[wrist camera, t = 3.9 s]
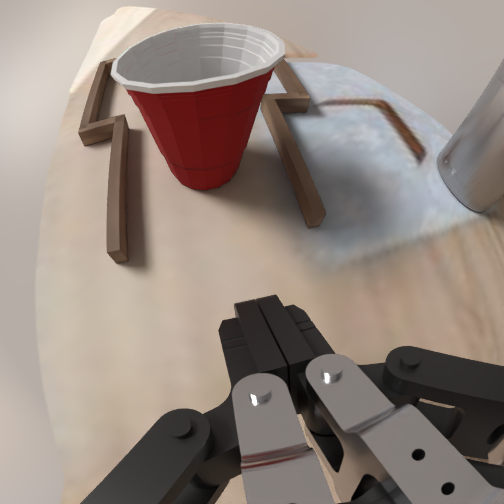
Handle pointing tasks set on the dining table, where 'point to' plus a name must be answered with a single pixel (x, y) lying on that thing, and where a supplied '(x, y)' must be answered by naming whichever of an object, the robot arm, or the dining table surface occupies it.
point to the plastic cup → (200, 94)
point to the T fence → (118, 133)
